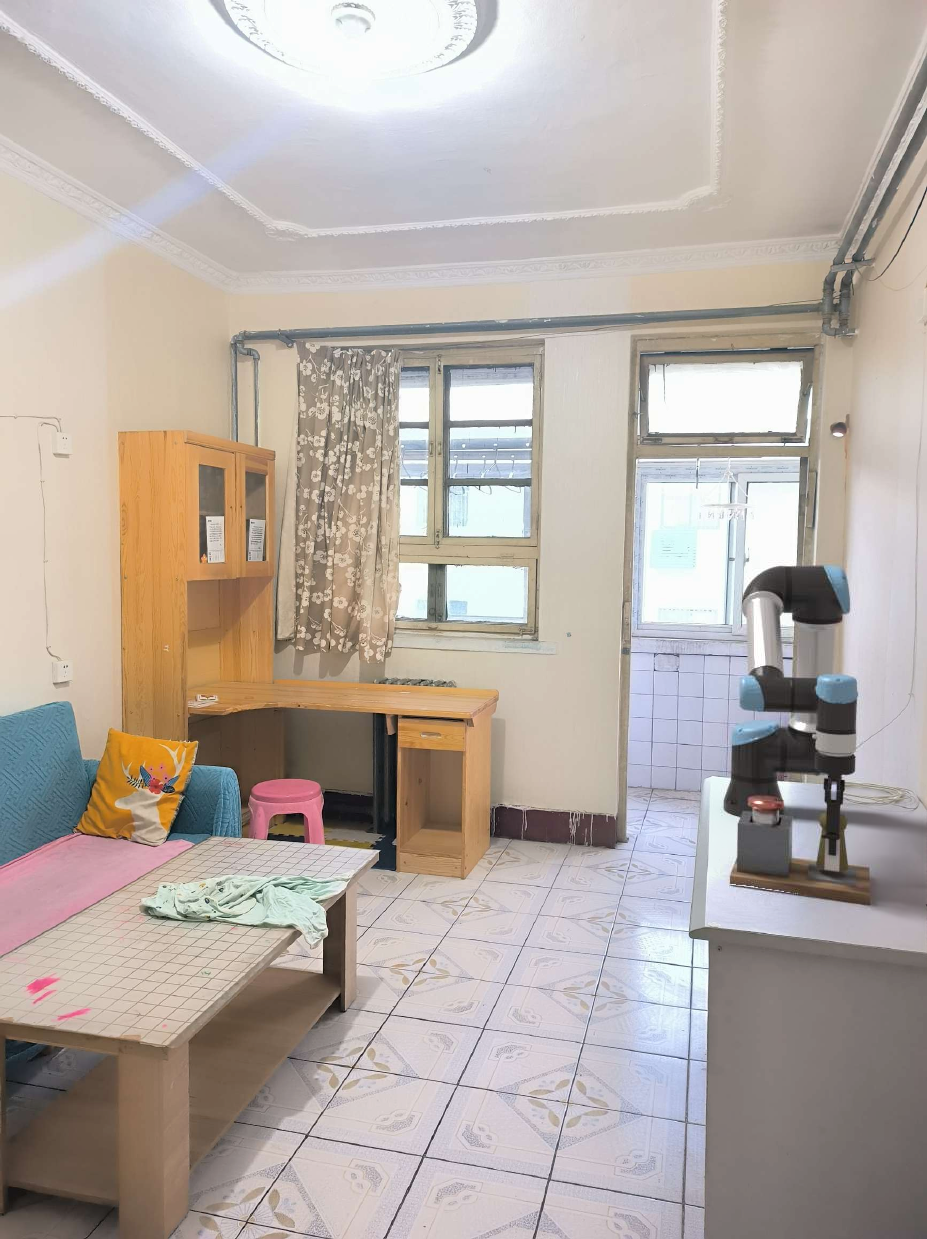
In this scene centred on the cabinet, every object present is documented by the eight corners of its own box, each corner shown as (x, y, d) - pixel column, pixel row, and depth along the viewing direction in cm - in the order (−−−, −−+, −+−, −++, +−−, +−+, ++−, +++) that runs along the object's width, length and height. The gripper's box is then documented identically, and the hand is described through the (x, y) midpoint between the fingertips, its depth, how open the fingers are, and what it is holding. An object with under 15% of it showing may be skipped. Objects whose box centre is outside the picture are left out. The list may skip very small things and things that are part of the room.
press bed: (739, 860, 194) (739, 848, 194) (869, 876, 183) (869, 864, 183) (729, 885, 179) (729, 872, 179) (870, 905, 169) (870, 891, 169)
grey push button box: (742, 856, 191) (743, 810, 190) (791, 862, 187) (792, 816, 186) (736, 871, 182) (737, 823, 181) (788, 878, 178) (789, 829, 177)
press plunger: (749, 836, 188) (750, 794, 188) (784, 840, 185) (785, 797, 185) (745, 846, 182) (746, 802, 181) (781, 850, 179) (782, 806, 178)
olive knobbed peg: (849, 873, 175) (850, 818, 174) (816, 869, 177) (818, 816, 176) (847, 862, 181) (848, 810, 180) (815, 859, 183) (816, 807, 182)
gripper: (816, 741, 187) (814, 847, 189) (813, 760, 170) (810, 877, 172) (855, 744, 184) (852, 852, 186) (855, 764, 167) (852, 883, 169)
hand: (832, 864), depth 179 cm, fingers closed on olive knobbed peg, 6 cm apart
